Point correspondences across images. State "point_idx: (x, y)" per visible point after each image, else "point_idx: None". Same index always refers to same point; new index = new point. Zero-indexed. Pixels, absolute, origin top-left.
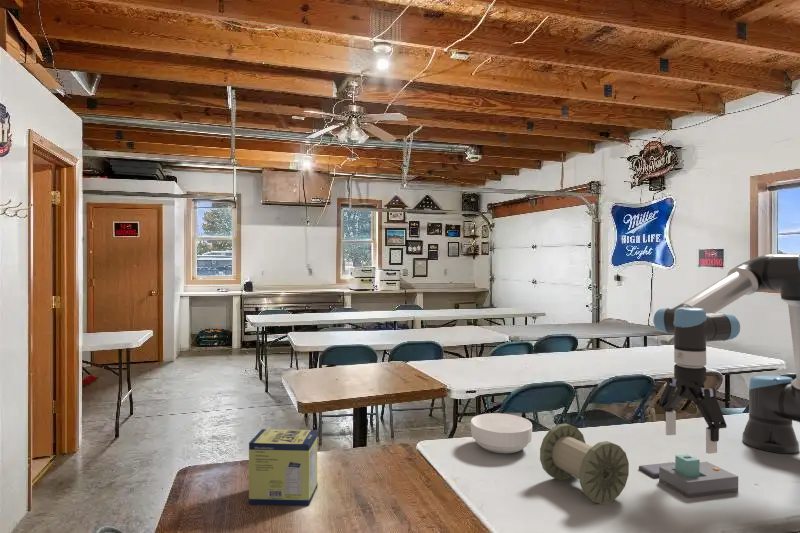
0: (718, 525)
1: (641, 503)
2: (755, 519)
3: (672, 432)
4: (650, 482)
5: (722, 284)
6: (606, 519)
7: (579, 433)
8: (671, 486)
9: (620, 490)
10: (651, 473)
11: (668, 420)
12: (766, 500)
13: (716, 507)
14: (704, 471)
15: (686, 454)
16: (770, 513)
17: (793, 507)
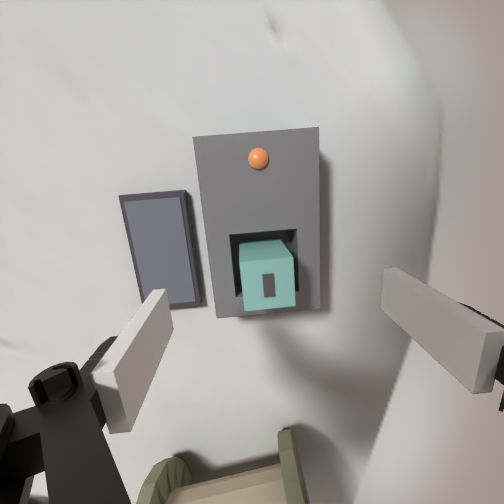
0: None
1: (310, 392)
2: (425, 218)
3: (166, 312)
4: (224, 323)
5: None
6: (345, 466)
7: None
8: None
9: (291, 435)
10: (191, 305)
11: (150, 380)
12: (365, 99)
13: (360, 261)
14: (266, 211)
15: (241, 268)
16: (417, 157)
17: (415, 56)
